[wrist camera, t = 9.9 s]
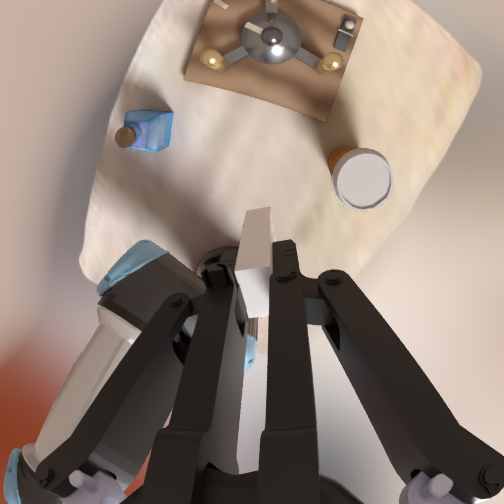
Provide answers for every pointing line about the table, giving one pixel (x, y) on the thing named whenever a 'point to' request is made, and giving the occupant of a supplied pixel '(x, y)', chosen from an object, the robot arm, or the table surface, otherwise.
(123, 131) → the perfume bottle
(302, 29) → the stand
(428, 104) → the table surface
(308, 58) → the capstan
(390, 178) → the disposable coffee cup
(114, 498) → the robot arm
